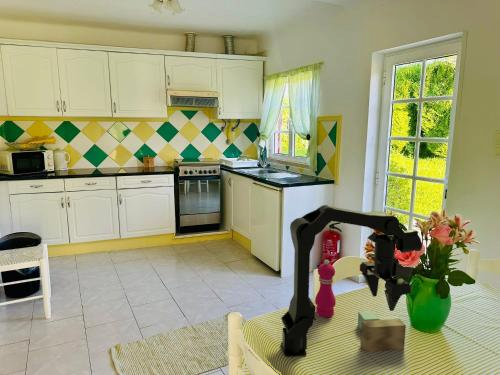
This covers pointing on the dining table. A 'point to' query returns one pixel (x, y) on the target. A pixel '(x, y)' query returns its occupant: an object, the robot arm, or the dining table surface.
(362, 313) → the letter cube
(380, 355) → the dining table surface
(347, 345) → the dining table surface
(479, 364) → the dining table surface
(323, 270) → the pepper mill
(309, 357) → the dining table surface
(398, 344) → the wooden block
